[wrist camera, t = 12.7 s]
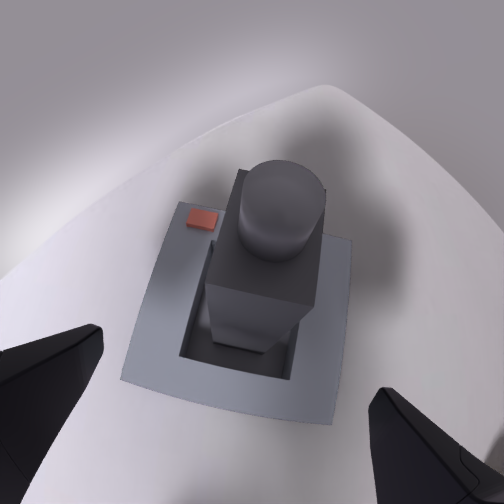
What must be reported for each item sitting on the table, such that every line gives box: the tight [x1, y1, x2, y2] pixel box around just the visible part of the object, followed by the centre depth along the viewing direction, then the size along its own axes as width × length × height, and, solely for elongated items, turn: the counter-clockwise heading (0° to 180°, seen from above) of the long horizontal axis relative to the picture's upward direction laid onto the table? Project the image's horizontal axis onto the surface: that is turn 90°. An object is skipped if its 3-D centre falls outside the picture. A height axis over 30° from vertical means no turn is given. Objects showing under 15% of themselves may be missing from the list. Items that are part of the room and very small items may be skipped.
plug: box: [205, 160, 326, 355], centre depth 13 cm, size 4×3×13 cm
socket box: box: [120, 202, 352, 425], centre depth 18 cm, size 12×12×4 cm
